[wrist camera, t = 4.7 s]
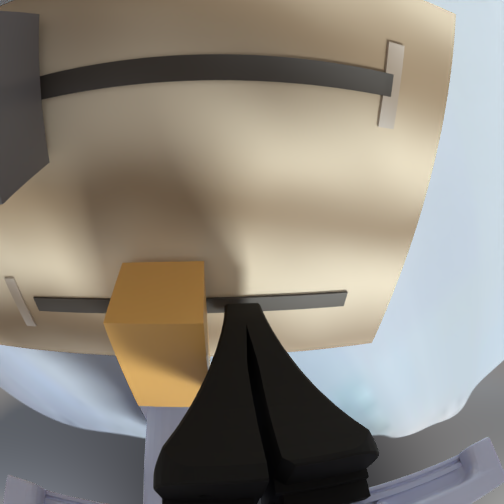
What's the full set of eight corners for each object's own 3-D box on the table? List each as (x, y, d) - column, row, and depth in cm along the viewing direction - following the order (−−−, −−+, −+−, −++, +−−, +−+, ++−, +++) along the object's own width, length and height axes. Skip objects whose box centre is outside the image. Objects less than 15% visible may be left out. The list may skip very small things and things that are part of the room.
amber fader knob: (209, 349, 14) (211, 406, 12) (145, 350, 14) (138, 405, 11) (204, 260, 11) (203, 323, 9) (122, 262, 11) (103, 323, 9)
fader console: (359, 316, 18) (372, 344, 16) (-37, 315, 15) (-49, 337, 13) (425, 14, 9) (457, 14, 7) (-107, 83, 6) (-132, 93, 4)
